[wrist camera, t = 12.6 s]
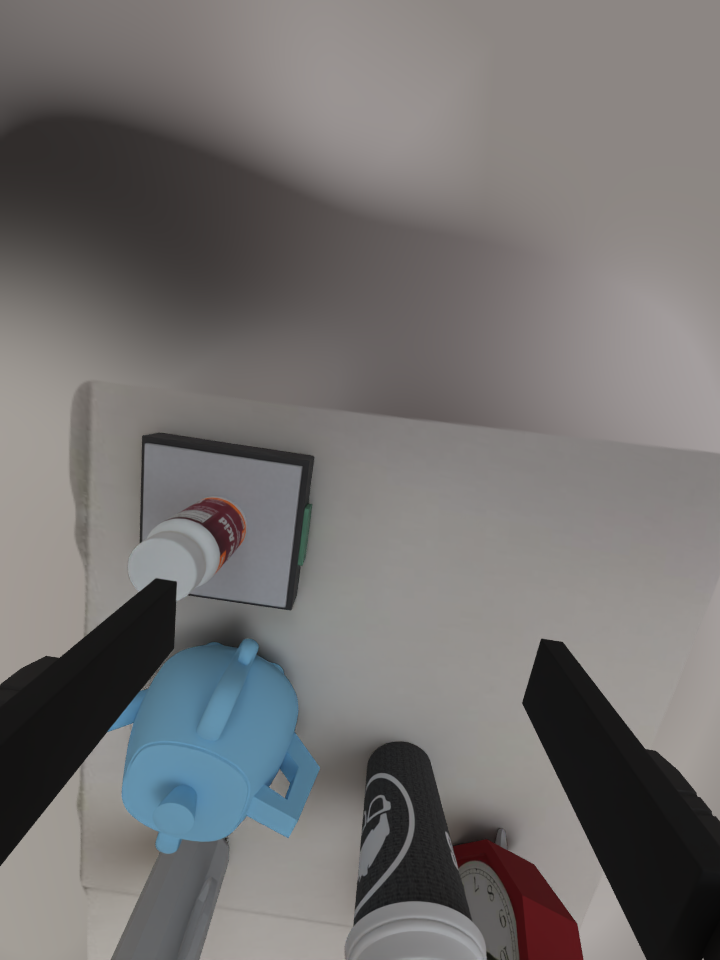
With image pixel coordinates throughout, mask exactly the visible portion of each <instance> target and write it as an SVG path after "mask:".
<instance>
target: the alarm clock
mask: <svg viewBox="0 0 720 960" xmlns="http://www.w3.org/2000/svg"><path fill="white" fill-rule="evenodd" d="M453 850H454V854H455V858H456V861H457V865H458V869H459V873H460V876H461V880H462V884H463V888H464V891H465V895H466V899H467V903H468V906H469V910H470V914H471V917H472V921H473V923H474V924H475V925H476V926H477V927H478V929H479V930H480V932H481V934H482V935H483V938H484V940H485V944H486V957H487V960H583V955H582V949H581V943H580V938H579V931H578V926H577V923H576V921H575V920H574V919H573V917H572V916H571V915H570V913H569V912H568V910H567V909H566V908H565V906H564V905H563V904H562V902H561V901H560V899H559V898H558V897H557V895H556V894H555V893H554V891H553V890H552V888H551V887H550V886H549V884H548V883H547V881H546V880H545V879H544V877H543V876H542V875H541V873H540V872H539V870H538V869H537V868H536V866H535V865H534V864H532V863H530V862H528V861H527V860H525V859H523V858H521V857H519V856H517V855H515V854H514V853H512V852H510V851H508V849H507V841H506V833H505V831H504V830H503V829H498V834H497V838H496V842H495V843H493V842H491V841H489V840H488V839H485V840H480V841H476V842H471V843H466V844H461V845H457V846H453Z"/></svg>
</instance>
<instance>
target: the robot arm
mask: <svg viewBox="0 0 720 960" xmlns="http://www.w3.org/2000/svg"><path fill="white" fill-rule="evenodd" d="M176 594H177V581H171V580H165V579H159V578H155V579H154V580H153V581H152V582H151V583H149V584H148V585H147V586H146V587H144V588H143V589H142V590H141V591H140V592H138V593H137V594H136V595H135V596H134V597H132V598H131V599H130V600H129V601H128V602H126V603H125V604H124V605H123V606H122V607H120V608H119V609H118V610H117V611H116V612H114V613H113V614H112V615H111V616H109V617H108V618H107V619H106V620H105V621H103V622H102V623H101V624H100V625H99V626H97V627H96V628H95V629H94V630H93V631H91V632H90V633H89V634H88V635H87V636H85V637H84V638H83V639H82V640H81V641H79V642H78V643H77V644H76V645H74V646H73V647H72V648H71V649H70V650H68V651H67V652H66V653H65V654H64V655H62V657H60V658H56V657H50V656H45V657H43V658H41V659H39V660H37V661H35V662H33V663H31V664H29V665H27V666H25V667H23V668H21V669H20V670H19V671H17V672H16V673H15V674H13V675H12V676H11V677H9V678H8V679H7V680H5V681H4V682H3V683H2V684H1V685H0V866H1V864H2V863H3V862H4V861H5V860H6V858H7V857H8V856H9V854H10V853H11V852H12V851H13V849H14V848H15V847H16V846H17V845H18V843H19V842H20V841H21V840H22V838H23V837H24V836H25V835H26V833H27V832H28V830H29V829H30V828H31V827H32V826H33V824H34V823H35V822H36V821H37V819H38V818H39V817H40V816H41V814H42V813H43V812H44V811H45V809H46V808H47V807H48V806H49V804H50V803H51V802H52V801H53V799H54V798H55V797H56V796H57V794H58V793H59V792H60V790H61V789H62V788H63V787H64V785H65V784H66V783H67V782H68V780H69V779H70V778H71V777H72V776H73V774H74V773H75V772H76V771H77V769H78V768H79V767H80V766H81V764H82V763H83V762H84V760H85V759H86V758H87V757H88V755H89V754H90V753H91V752H92V750H93V749H94V748H95V747H96V745H97V744H98V743H99V742H100V740H101V739H102V738H103V737H104V735H105V734H106V733H107V732H108V730H109V729H110V728H111V727H112V725H113V724H114V723H115V722H116V720H117V719H118V718H119V717H120V715H121V714H122V713H123V712H124V710H125V709H126V708H127V707H128V705H129V704H130V703H131V702H132V700H133V699H134V698H135V697H136V695H137V694H138V693H139V691H140V690H141V689H142V688H143V686H144V685H145V684H146V683H147V681H148V680H149V679H150V678H151V676H152V675H153V674H154V673H155V671H156V670H157V669H158V668H159V666H160V665H161V664H162V663H163V661H164V660H165V659H166V658H167V656H168V655H169V654H170V653H171V651H172V650H173V649H174V637H175V615H176ZM522 704H523V706H524V708H525V710H526V712H527V714H528V716H529V718H530V720H531V722H532V724H533V726H534V729H535V731H536V733H537V735H538V737H539V739H540V741H541V743H542V745H543V747H544V749H545V751H546V753H547V755H548V757H549V759H550V761H551V764H552V766H553V768H554V770H555V772H556V774H557V776H558V778H559V780H560V782H561V784H562V786H563V788H564V790H565V792H566V794H567V797H568V799H569V801H570V803H571V805H572V807H573V809H574V811H575V813H576V815H577V817H578V819H579V821H580V823H581V825H582V827H583V830H584V832H585V834H586V836H587V838H588V840H589V842H590V844H591V846H592V848H593V850H594V852H595V854H596V856H597V858H598V860H599V862H600V865H601V867H602V869H603V871H604V873H605V875H606V877H607V879H608V881H609V883H610V885H611V887H612V889H613V891H614V893H615V895H616V898H617V900H618V901H619V904H620V906H621V908H622V910H623V912H624V914H625V916H626V918H627V920H628V922H629V924H630V926H631V928H632V930H633V932H634V935H635V937H636V939H637V941H638V943H639V945H640V946H641V949H642V951H643V953H644V955H645V957H646V959H647V960H702V958H704V960H720V821H719V820H718V819H717V817H716V816H713V815H712V811H711V810H710V809H709V808H708V806H707V805H706V804H705V803H704V801H703V800H702V799H701V798H700V797H697V794H696V792H695V790H694V789H693V788H692V787H691V785H690V784H689V783H688V782H687V781H686V779H685V778H684V777H683V776H682V774H681V773H680V772H679V771H678V770H677V769H676V768H675V767H674V766H672V765H671V764H670V763H669V762H668V761H667V760H666V759H664V758H663V757H662V756H661V755H660V754H659V753H658V752H656V751H653V750H647V749H645V748H644V747H643V746H642V744H641V743H640V742H639V740H638V739H637V738H636V736H635V735H634V734H633V733H632V731H631V730H630V729H629V727H628V726H627V725H626V724H625V722H624V721H623V720H622V718H621V717H620V716H619V714H618V713H617V712H616V711H615V709H614V708H613V707H612V705H611V704H610V703H609V702H608V700H607V699H606V698H605V696H604V695H603V694H602V692H601V691H600V690H599V689H598V687H597V686H596V685H595V683H594V682H593V681H592V679H591V678H590V677H589V676H588V674H587V673H586V672H585V670H584V669H583V668H582V667H581V665H580V664H579V663H578V661H577V660H576V659H575V657H574V656H573V655H572V654H571V652H570V651H569V650H568V648H567V647H566V646H565V644H564V643H563V642H559V641H553V640H547V639H541V641H540V645H539V648H538V651H537V655H536V658H535V661H534V665H533V668H532V672H531V675H530V678H529V682H528V685H527V689H526V692H525V695H524V699H523V702H522Z"/></svg>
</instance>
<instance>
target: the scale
mask: <svg viewBox="0 0 720 960" xmlns="http://www.w3.org/2000/svg"><path fill="white" fill-rule="evenodd" d="M313 462H314V456H310V455H304V454H297V453H290V452H284V451H277V450H271V449H264V448H257V447H251V446H244V445H238V444H231V443H225V442H218V441H211V440H205V439H198V438H192V437H185V436H178V435H172V434H165V433H155V434H149V435H143V436H142V472H141V513H140V543H141V542H143V541H144V540H146V539H147V537H148V535H149V533H150V532H151V531H152V529H153V528H155V527H156V526H157V525H158V524H160V523H161V522H163V521H165V520H167V519H169V518H170V517H172V516H174V515H175V514H177V513H179V512H181V511H183V510H184V509H186V508H188V507H189V506H191V505H193V504H194V503H196V502H198V501H199V500H201V499H204V498H207V497H212V496H217V497H223V498H226V499H228V500H231V501H232V502H234V503H235V504H237V505H238V506H239V508H240V509H241V510H242V511H243V513H244V515H245V517H246V521H247V533H246V537H245V539H244V541H243V542H242V544H241V545H240V546H239V547H238V548H237V550H236V551H235V552H234V553H233V554H232V555H231V557H230V558H229V559H228V560H227V561H226V562H225V563H224V564H223V566H222V567H221V568H220V569H219V570H218V571H217V572H216V574H215V575H214V576H213V577H212V578H211V579H210V580H209V581H207V582H206V583H205V584H203V585H201V586H199V587H196V588H195V589H193V590H192V591H191V592H190V593H189V594H188V595H189V596H196V597H203V598H210V599H217V600H224V601H230V602H237V603H244V604H251V605H258V606H265V607H272V608H278V609H285V610H292V607H293V604H294V602H295V599H296V596H297V590H298V582H299V574H300V566H302V565H303V563H304V560H305V557H306V550H307V542H308V534H309V526H310V518H311V510H312V504H309V503H308V502H309V494H310V486H311V478H312V470H313Z"/></svg>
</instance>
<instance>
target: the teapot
mask: <svg viewBox="0 0 720 960" xmlns="http://www.w3.org/2000/svg"><path fill="white" fill-rule="evenodd" d="M258 648H259V645H258V643H257V642H256V641H255V640H253V639H244V640H243V641H242V642H241V644H240V646H239V648H235V647H229V646H223V645H222V644H220V643H217V642H211V643H208V644H207V645H201V646H196V647H192V648H188V649H185V650H183V651H180V652H178V653H177V654H175V655H174V656H172V657H171V658H170V659H168V660H167V661H166V662H165V663H164V665H163V666H162V667H161V669H160V670H159V672H158V673H157V675H156V676H155V678H154V680H153V681H152V683H151V685H150V687H149V689H145V690H142V691H139V693H138V694H137V695H136V697H135V698H134V699H133V700H132V702H131V703H130V704H129V705H128V707H127V708H126V709H125V710H124V712H123V713H122V714H121V715H120V717H119V718H118V719H117V720H116V722H115V723H114V724H113V725H112V727H111V728H110V729H109V730H108V732H109V731H112V730H114V729H117V728H120V727H123V726H126V725H129V724H132V723H134V724H133V727H132V731H131V735H130V739H129V744H128V749H127V755H126V761H125V768H124V775H123V784H122V800H123V803H124V805H125V808H126V809H127V811H128V812H129V813H130V814H131V815H132V816H133V817H134V818H135V819H137V820H138V821H139V822H141V823H143V824H144V825H146V826H148V827H150V828H152V829H154V830H156V831H158V832H159V833H158V836H157V839H156V848H157V849H158V850H159V851H160V852H162V853H166V854H171V853H174V852H176V851H177V850H178V848H179V846H180V844H181V841H182V839H184V840H190V841H199V842H210V841H216V840H219V839H222V838H224V837H226V836H228V835H229V834H231V833H232V832H233V831H234V830H235V829H236V828H237V827H238V826H239V825H240V823H241V822H242V821H243V820H244V819H245V817H246V816H248V817H250V818H252V819H254V820H256V821H257V822H259V823H261V824H263V825H265V826H267V827H269V828H270V829H272V830H274V831H276V832H278V833H280V834H281V835H283V836H285V837H287V838H289V836H290V834H291V832H292V831H293V829H294V827H295V825H296V823H297V822H298V820H299V817H300V815H301V812H302V810H303V808H304V805H305V803H306V801H307V798H308V796H309V793H310V791H311V789H312V786H313V784H314V781H315V779H316V777H317V774H318V772H319V770H320V767H319V766H318V764H317V763H316V761H315V760H314V759H313V757H312V756H311V754H310V753H309V752H308V750H307V749H306V747H305V746H304V745H303V743H302V742H301V740H300V739H299V738H298V736H297V735H296V733H295V732H294V730H295V726H296V723H297V717H298V699H297V696H296V693H295V691H294V689H293V687H292V685H291V683H290V681H289V680H288V679H287V677H286V676H285V675H284V671H283V669H282V667H281V666H279V665H278V664H276V663H270V662H268V661H267V660H265V659H263V658H262V657H260V656H258V655H256V654H257V651H258ZM279 769H281V771H282V772H283V774H284V775H285V777H286V778H287V779H288V781H289V782H290V786H289V789H288V791H287V794H286V797H285V798H284V797H282V796H281V795H279V794H278V793H276V792H275V791H273V790H272V789H270V788H269V786H270V784H271V783H272V781H273V779H274V778H275V776H276V774H277V772H278V771H279Z"/></svg>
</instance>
